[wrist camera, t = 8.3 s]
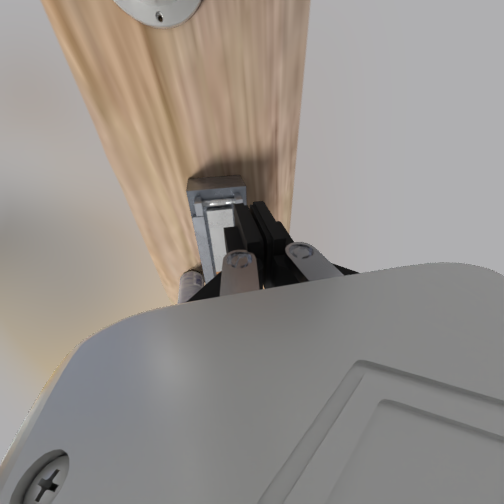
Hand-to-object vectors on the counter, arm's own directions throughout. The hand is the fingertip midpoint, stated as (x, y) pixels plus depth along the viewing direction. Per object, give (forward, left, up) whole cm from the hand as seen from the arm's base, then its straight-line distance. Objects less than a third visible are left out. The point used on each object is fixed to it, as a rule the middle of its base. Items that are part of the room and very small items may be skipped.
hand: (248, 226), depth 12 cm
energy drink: (+28, -9, -27) cm, 40 cm away
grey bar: (+16, -1, -21) cm, 26 cm away
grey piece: (+16, -1, -27) cm, 31 cm away
